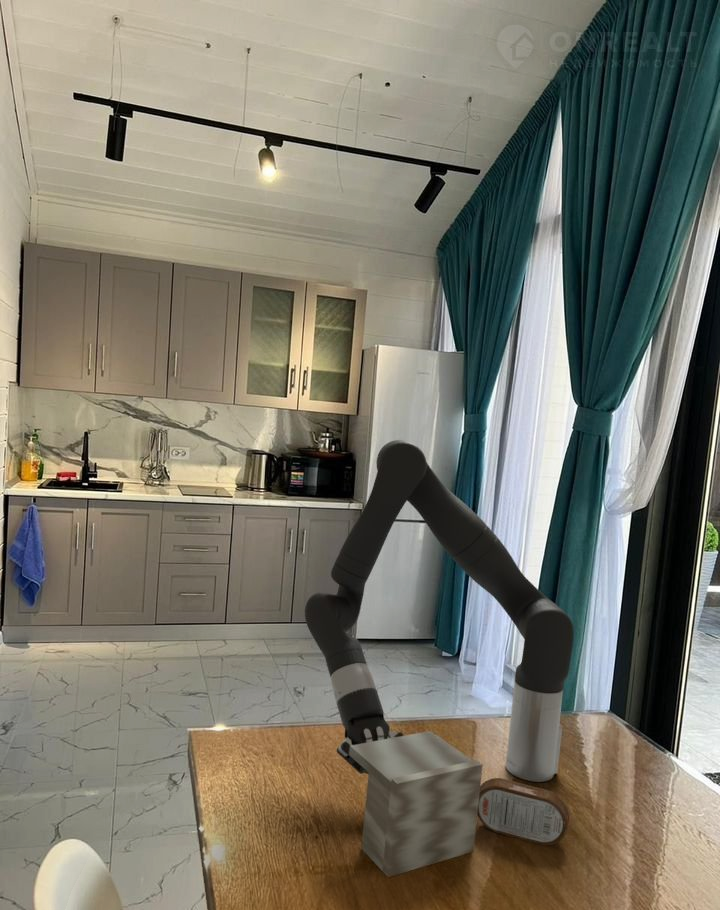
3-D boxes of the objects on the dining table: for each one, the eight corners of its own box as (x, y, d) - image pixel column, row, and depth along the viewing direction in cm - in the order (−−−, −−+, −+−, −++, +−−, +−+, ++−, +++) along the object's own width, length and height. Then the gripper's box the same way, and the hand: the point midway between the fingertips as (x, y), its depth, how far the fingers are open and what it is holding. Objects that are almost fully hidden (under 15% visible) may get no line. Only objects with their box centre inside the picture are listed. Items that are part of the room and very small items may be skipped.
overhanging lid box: (422, 807, 125) (430, 728, 124) (473, 851, 114) (482, 764, 113) (341, 827, 117) (350, 742, 116) (387, 877, 105) (397, 783, 104)
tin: (566, 843, 118) (572, 793, 118) (565, 854, 115) (571, 803, 115) (474, 819, 123) (479, 770, 123) (471, 828, 120) (476, 779, 120)
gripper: (332, 690, 124) (362, 796, 115) (396, 682, 131) (430, 780, 121) (315, 708, 129) (342, 811, 119) (377, 699, 136) (408, 795, 126)
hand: (386, 795), depth 120 cm, fingers closed
